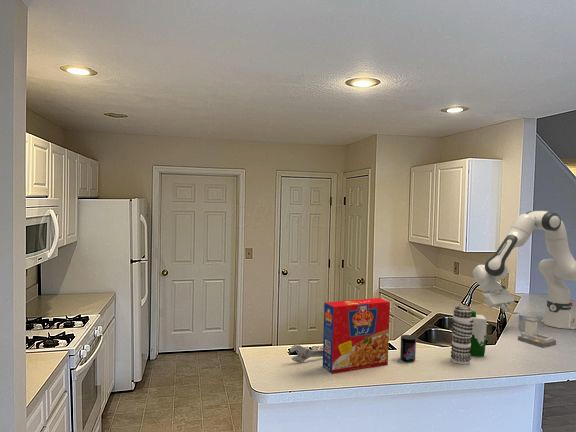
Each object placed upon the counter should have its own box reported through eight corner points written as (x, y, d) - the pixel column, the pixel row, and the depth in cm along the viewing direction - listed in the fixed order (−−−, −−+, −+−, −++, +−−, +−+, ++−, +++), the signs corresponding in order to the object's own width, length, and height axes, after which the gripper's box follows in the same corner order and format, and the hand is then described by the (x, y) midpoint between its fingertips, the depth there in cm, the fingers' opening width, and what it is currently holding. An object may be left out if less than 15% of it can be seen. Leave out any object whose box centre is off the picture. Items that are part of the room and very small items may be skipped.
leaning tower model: (461, 356, 202) (463, 303, 201) (476, 363, 193) (478, 308, 192) (445, 358, 199) (447, 304, 198) (460, 365, 190) (462, 309, 189)
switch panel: (530, 336, 234) (531, 330, 234) (555, 344, 223) (556, 337, 222) (517, 340, 228) (518, 333, 227) (542, 347, 216) (543, 340, 216)
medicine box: (532, 330, 247) (533, 315, 246) (536, 332, 242) (536, 317, 242) (517, 329, 247) (518, 314, 247) (521, 331, 243) (522, 316, 243)
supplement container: (400, 361, 193) (401, 338, 193) (399, 356, 200) (400, 334, 199) (415, 363, 192) (416, 340, 191) (414, 357, 198) (415, 335, 198)
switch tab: (529, 334, 231) (529, 317, 230) (537, 336, 227) (538, 319, 227) (524, 335, 228) (525, 318, 228) (532, 337, 225) (533, 320, 224)
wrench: (346, 361, 199) (289, 364, 185) (344, 360, 201) (287, 362, 187) (348, 344, 199) (292, 345, 185) (346, 343, 201) (290, 344, 187)
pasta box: (331, 374, 178) (333, 306, 176) (322, 367, 185) (324, 302, 184) (387, 365, 189) (389, 301, 188) (377, 358, 196) (379, 297, 195)
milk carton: (462, 349, 211) (464, 309, 210) (482, 351, 209) (484, 310, 208) (466, 355, 202) (468, 313, 201) (487, 357, 200) (488, 315, 200)
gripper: (485, 288, 239) (500, 310, 231) (507, 286, 250) (523, 306, 242) (477, 295, 243) (492, 316, 235) (499, 292, 254) (514, 312, 246)
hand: (508, 311), depth 238 cm, fingers closed
